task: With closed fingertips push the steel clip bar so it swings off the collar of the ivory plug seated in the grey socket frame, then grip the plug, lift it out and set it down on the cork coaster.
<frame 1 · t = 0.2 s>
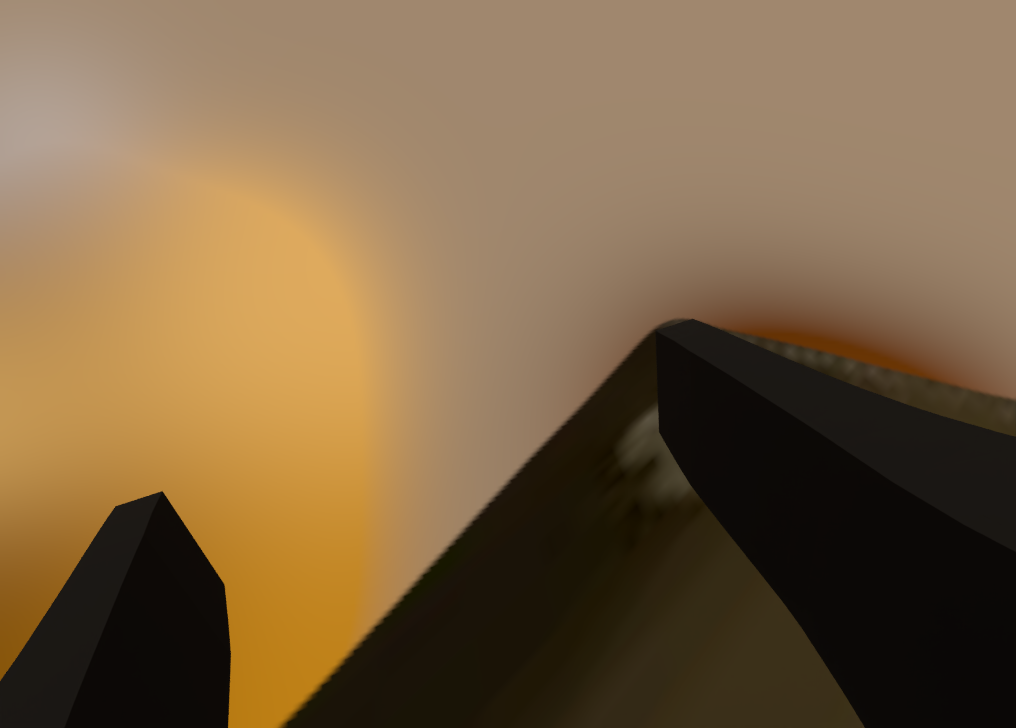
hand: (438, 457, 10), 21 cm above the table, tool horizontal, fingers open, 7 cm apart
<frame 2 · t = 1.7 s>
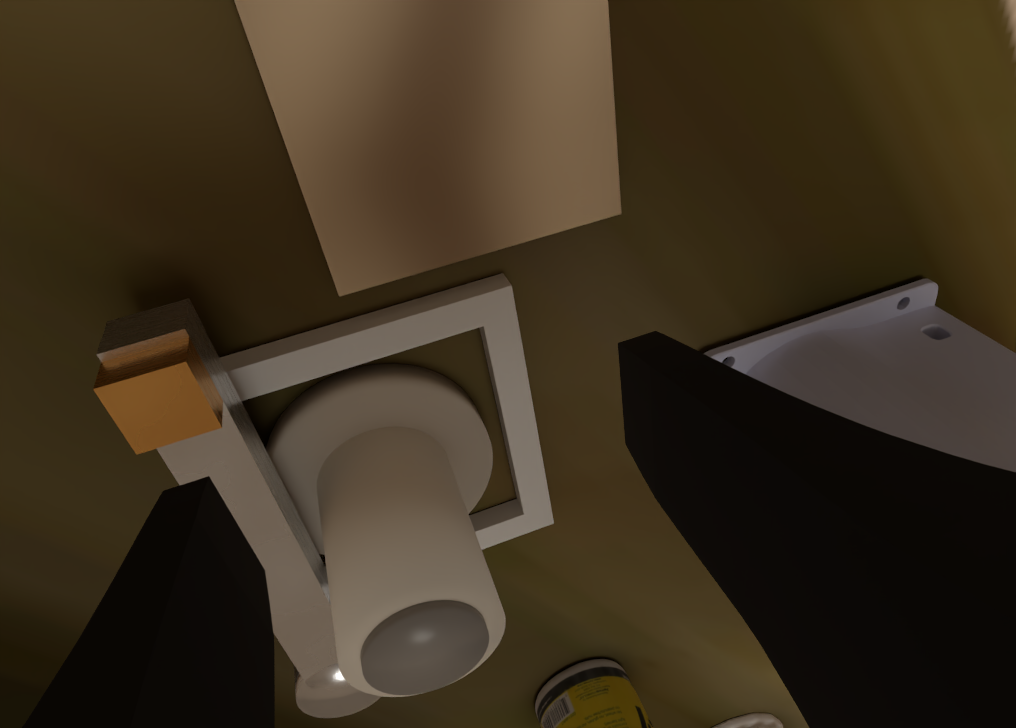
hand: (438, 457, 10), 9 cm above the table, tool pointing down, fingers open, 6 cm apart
plug: (378, 454, 22), resting in socket
clip: (274, 566, 19), point 3 cm above the table, hinge at 0.0°
coaster: (450, 97, 17), on the table
socket: (379, 455, 22), on the table
supplement bottle: (577, 683, 33), on the table
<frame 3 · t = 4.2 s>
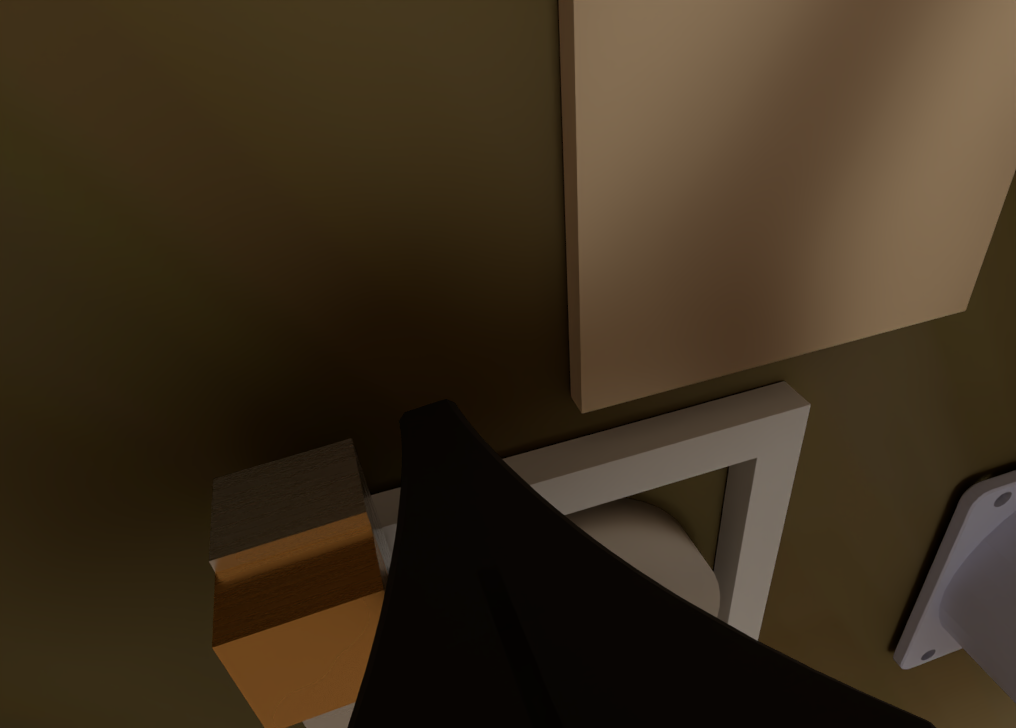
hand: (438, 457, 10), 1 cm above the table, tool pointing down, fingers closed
plug: (556, 611, 16), resting in socket
coaster: (806, 129, 11), on the table
socket: (556, 612, 16), on the table
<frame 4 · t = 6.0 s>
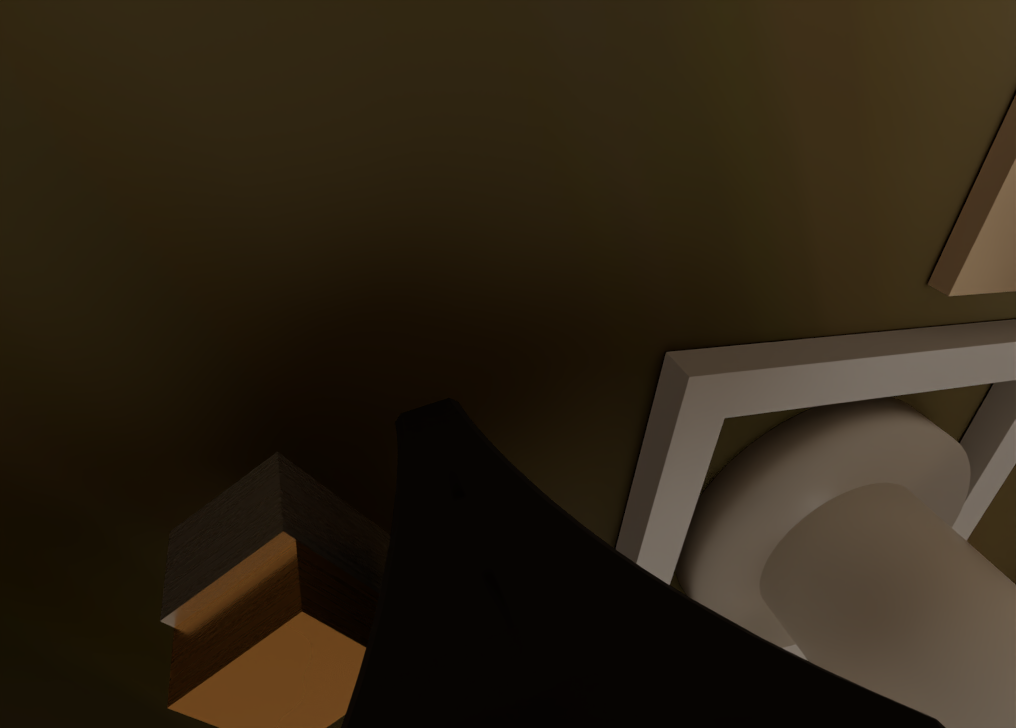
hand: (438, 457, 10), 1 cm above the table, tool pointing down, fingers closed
plug: (804, 513, 16), resting in socket
socket: (805, 514, 16), on the table
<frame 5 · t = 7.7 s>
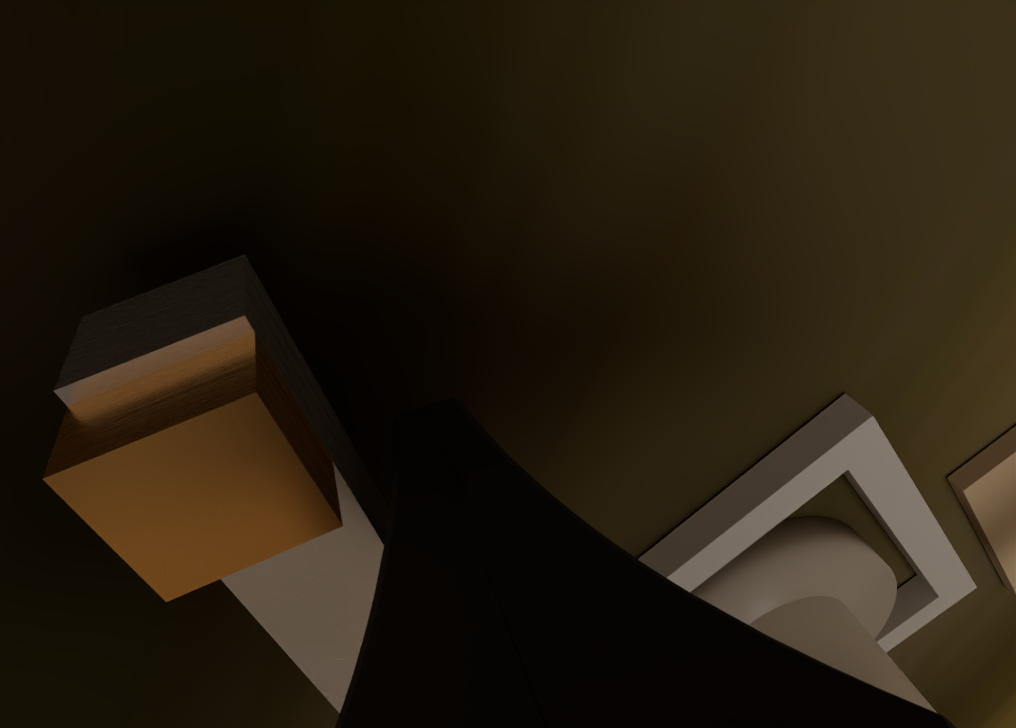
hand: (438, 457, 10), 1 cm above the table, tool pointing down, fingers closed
plug: (750, 612, 18), resting in socket
clip: (426, 717, 11), point 3 cm above the table, hinge at 65.9°, touching gripper
socket: (751, 613, 18), on the table
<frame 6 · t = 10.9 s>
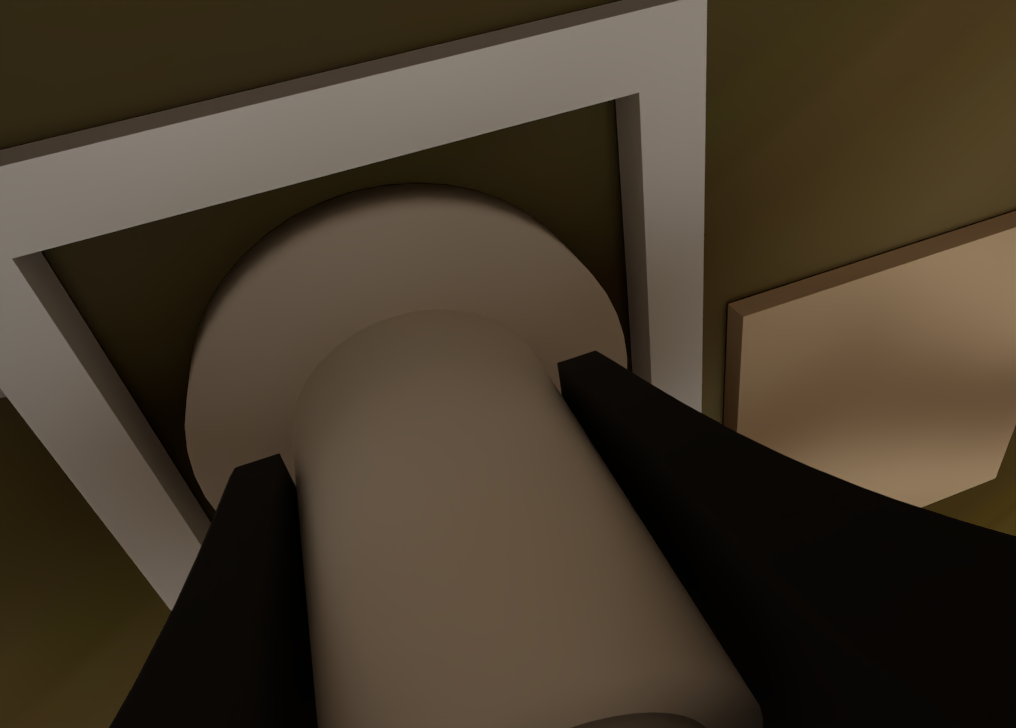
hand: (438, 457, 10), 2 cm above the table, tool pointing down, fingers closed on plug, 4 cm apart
plug: (411, 380, 12), resting in socket, touching gripper
coaster: (877, 400, 16), on the table
socket: (411, 381, 12), on the table
when the fingers open (4 cm above the table, at t = 14.3 s): plug stays where it is, resting on coaster.
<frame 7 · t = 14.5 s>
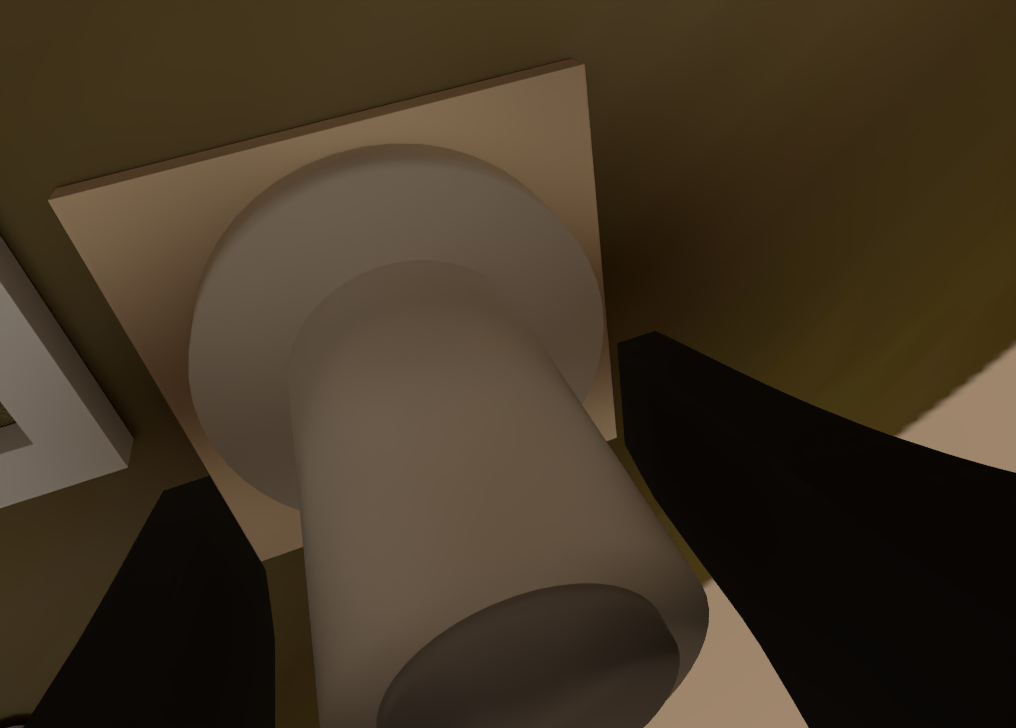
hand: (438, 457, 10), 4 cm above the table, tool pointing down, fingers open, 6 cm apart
plug: (401, 335, 12), resting on coaster
coaster: (395, 333, 13), on the table
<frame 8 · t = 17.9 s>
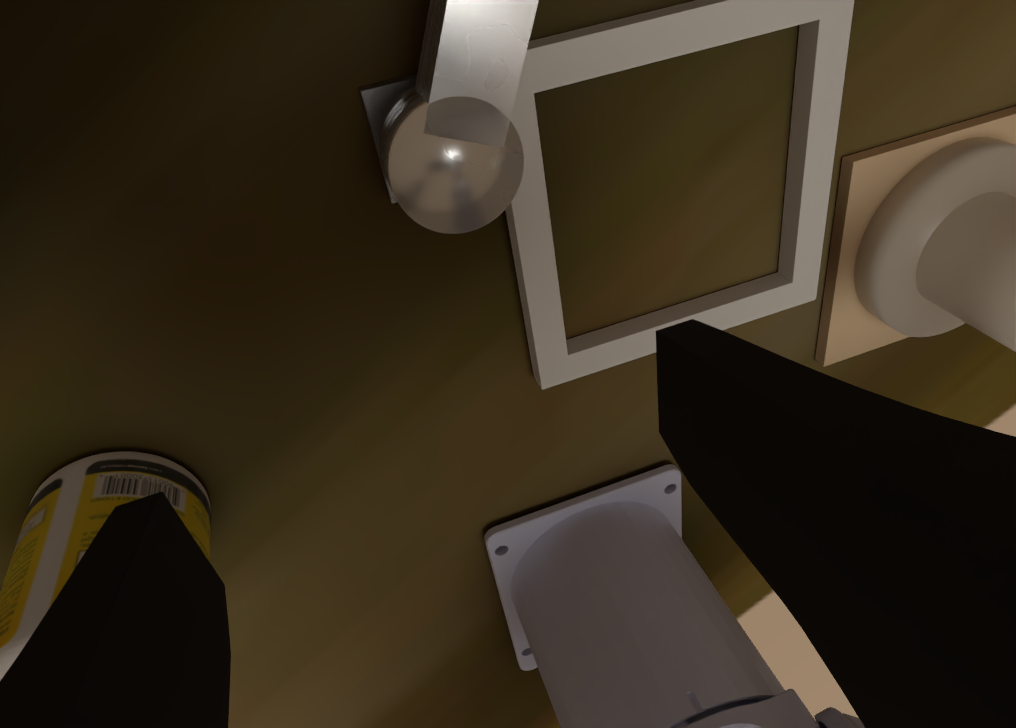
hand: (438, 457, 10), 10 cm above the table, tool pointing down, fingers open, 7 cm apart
plug: (939, 235, 24), resting on coaster
coaster: (924, 236, 25), on the table
thin grey base plate: (428, 131, 17), on the table
socket: (669, 192, 20), on the table
supplement bottle: (127, 503, 21), on the table
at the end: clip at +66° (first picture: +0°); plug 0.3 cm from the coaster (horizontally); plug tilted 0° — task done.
